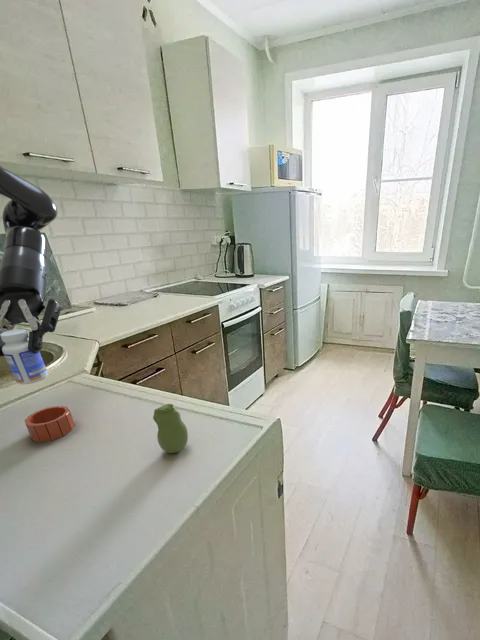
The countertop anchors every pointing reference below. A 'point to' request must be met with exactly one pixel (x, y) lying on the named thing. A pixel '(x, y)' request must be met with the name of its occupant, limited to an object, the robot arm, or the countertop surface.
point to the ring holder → (50, 423)
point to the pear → (170, 429)
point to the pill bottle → (22, 358)
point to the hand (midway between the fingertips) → (15, 353)
